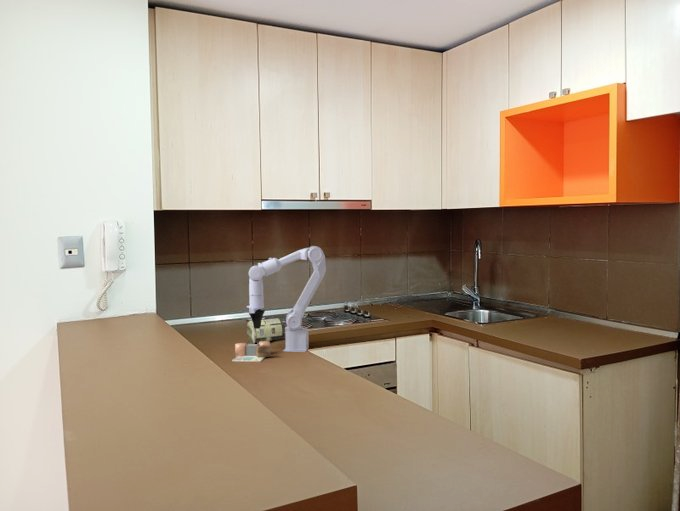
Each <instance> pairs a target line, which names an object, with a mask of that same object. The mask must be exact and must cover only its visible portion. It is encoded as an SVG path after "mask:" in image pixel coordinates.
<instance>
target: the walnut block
mask: <svg viewBox="0 0 680 511" xmlns="http://www.w3.org/2000/svg"><path fill="white" fill-rule="evenodd" d="M271 349H272V348H271V344H270V345H262V346H256V356H257V357H258V358H260V357H265V358H268V357H271V356H272V352H271Z"/></svg>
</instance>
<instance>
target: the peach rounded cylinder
mask: <svg viewBox="0 0 680 511" xmlns="http://www.w3.org/2000/svg"><path fill="white" fill-rule="evenodd" d="M258 344H259V346H262V345H270V346H271V342H270V341H260V342H259V343H258Z"/></svg>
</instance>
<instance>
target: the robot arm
mask: <svg viewBox="0 0 680 511" xmlns="http://www.w3.org/2000/svg"><path fill="white" fill-rule="evenodd" d="M298 260H303V261H304V260H305V261H307V260H308V261H309V262H310V264H311V267H312V269H313V272H312V273H311V275H310V276H309V279H308V281H307V283H306V284H305V286H304V288H303V290H302V292H301V294H300V296H299V298H298V299H297V301H296V302H295V304H294V306H293V307H292V309H291V310H290V311H289V312H288V313H286V316H285V323H286V326H284V328H285V335H284V339H285V340H284V341H285V344H284V345H285V348H284V349H282V352H283V351H284V352H288V353H290V352H293V353H295V352H296V353H297V352H298V353H303V352H304V353H306V352H307V350H309V347H310V346H309V345H310V343H309V341H310V340H309V338H310V337H309V336H310V335H309V329H308V328H304V327H303V326H302V324H303V318H304V315H305V313H306V309H307V308H308V307H309V305H310V303H311V301H312V299H313V297H314V296H315V293H316V291H317V290H318V289H319V286H320V285H321V282H322V280H323V279H324V277H325V274H326V272H327V266H326V256H325V254H324V251H323V249H322V248H320V246H316V245H311V246H309V247H305V248H301V249H298V250H296V251H294V252H292V253H290V254H288V255H285V256H283V257H281V258H277V257H269V258H268V260H265V261H263V262H258V263H257V265H253V266H251V267H250V268H249V270H248V277H249V279H248V280H249V281H248V282H249V284H248V294H249V296H248V297H249V299H248V300H249V305H247V306H246V309H247V308H248V309H249V310H248V314H249V316H250V318H251V321H253V325H254V329H259V328H260V326H261V321H262V320H263V315H264V314H265V309H264V308H265V305H264V304H265V303H264V300H265V299H264V298H265V297H264V283H263V277H268V276H270V275H272V274H274V273H277V272H279V271H281V268H282V267H283V266H286V265H289V264H291V263H294V262H296V261H298Z"/></svg>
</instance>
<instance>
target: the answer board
mask: <svg viewBox="0 0 680 511" xmlns="http://www.w3.org/2000/svg"><path fill="white" fill-rule="evenodd" d="M265 358H266V357H260V358H258V357H257V356H242V357H238V356H235V358H233V359H232V360H231V361H232V362H238V363H239V362H242V363H243V362H246V363H249V362H250V363H252V362H253V363H257V362H258V363H261V362H262V361H263V360H264V359H265Z"/></svg>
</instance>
